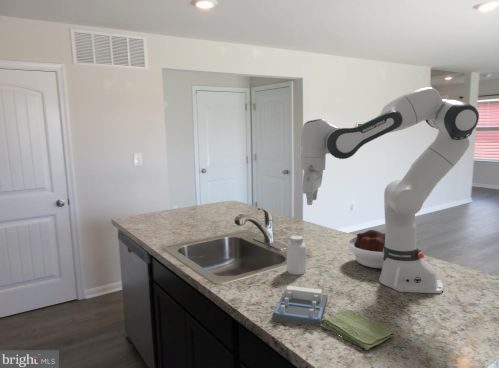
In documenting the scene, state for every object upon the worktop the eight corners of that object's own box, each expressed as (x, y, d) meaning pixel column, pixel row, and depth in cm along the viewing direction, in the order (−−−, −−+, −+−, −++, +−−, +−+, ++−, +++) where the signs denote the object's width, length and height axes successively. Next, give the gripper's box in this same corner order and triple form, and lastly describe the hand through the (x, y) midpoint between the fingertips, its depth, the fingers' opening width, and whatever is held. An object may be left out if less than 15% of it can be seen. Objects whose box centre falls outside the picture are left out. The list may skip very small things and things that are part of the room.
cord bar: (322, 297, 127) (322, 289, 127) (321, 301, 124) (321, 293, 124) (287, 293, 131) (287, 285, 130) (286, 297, 128) (285, 289, 128)
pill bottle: (291, 276, 151) (291, 240, 149) (284, 269, 159) (284, 235, 157) (309, 274, 153) (309, 238, 151) (301, 267, 161) (301, 233, 159)
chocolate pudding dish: (403, 256, 172) (404, 225, 169) (411, 277, 148) (412, 241, 146) (347, 253, 178) (348, 222, 176) (346, 272, 155) (347, 237, 152)
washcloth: (368, 355, 99) (368, 343, 98) (319, 327, 113) (319, 317, 112) (396, 338, 106) (396, 327, 106) (347, 314, 120) (347, 305, 120)
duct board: (327, 300, 129) (327, 288, 129) (320, 326, 112) (320, 312, 112) (285, 295, 134) (285, 283, 133) (272, 319, 117) (272, 306, 116)
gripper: (317, 167, 123) (316, 208, 125) (325, 162, 142) (324, 197, 144) (298, 167, 125) (297, 207, 127) (309, 162, 144) (308, 196, 146)
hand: (311, 202), depth 136 cm, fingers open, 8 cm apart
